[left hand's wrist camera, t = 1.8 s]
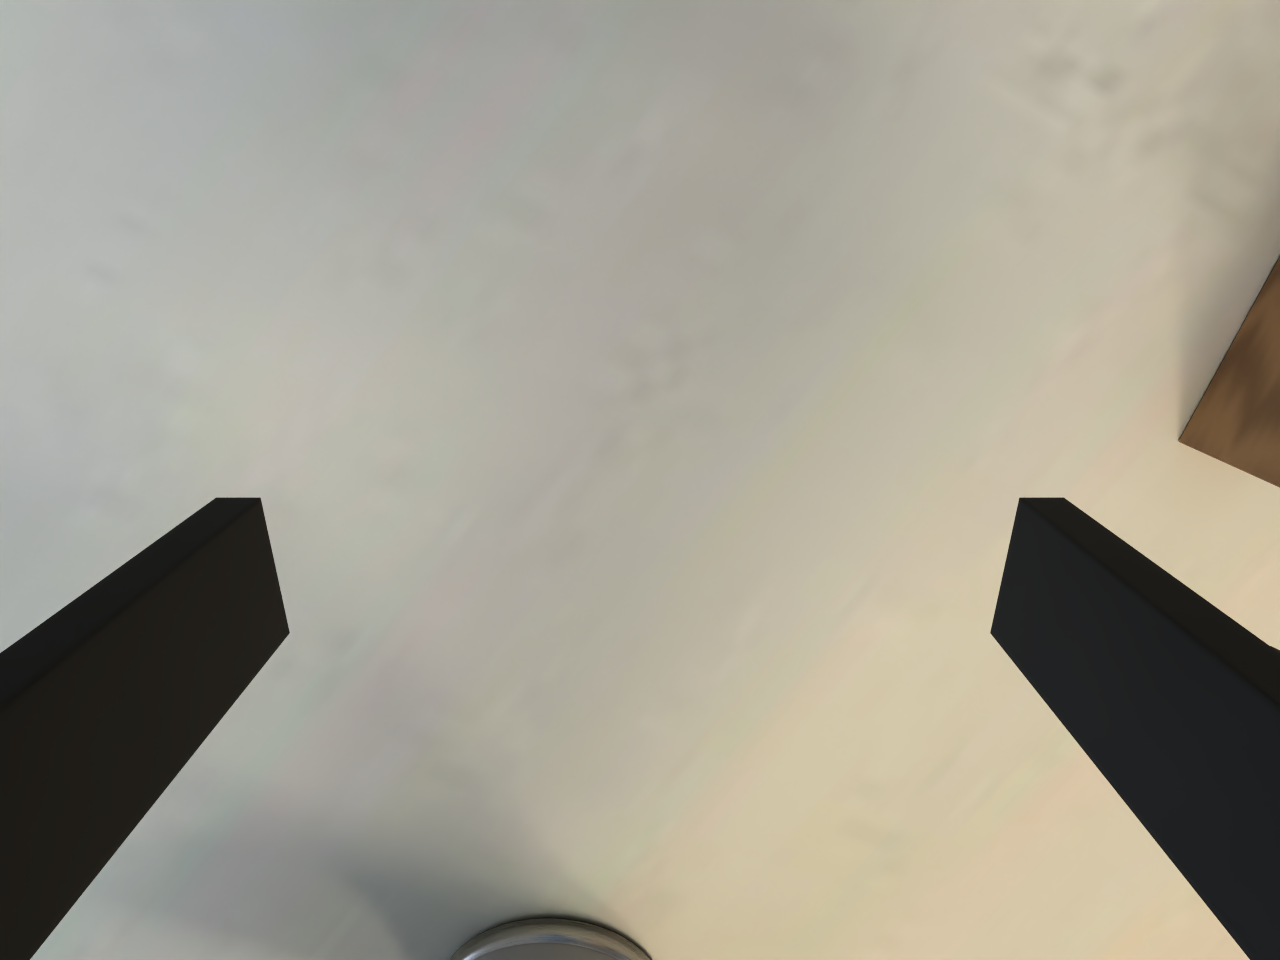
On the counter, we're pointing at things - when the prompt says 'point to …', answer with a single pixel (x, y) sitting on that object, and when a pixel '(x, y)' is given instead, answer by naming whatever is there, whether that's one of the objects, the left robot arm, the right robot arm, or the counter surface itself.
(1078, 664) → the left robot arm
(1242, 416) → the beam
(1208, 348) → the counter surface
